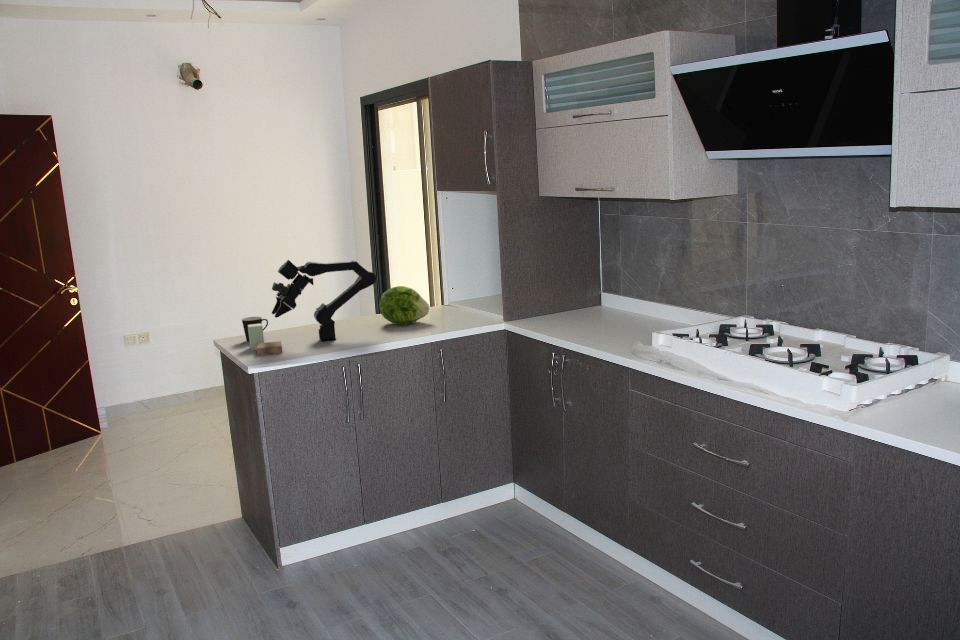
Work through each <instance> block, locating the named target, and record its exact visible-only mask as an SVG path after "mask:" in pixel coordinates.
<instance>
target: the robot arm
mask: <svg viewBox="0 0 960 640" xmlns="http://www.w3.org/2000/svg"><path fill="white" fill-rule="evenodd" d="M344 271H353V272H354V273H355V274H356V275H357V276H358V277H357V278H356V279H355V281H354V282H353V284H351V285H350V286H348V288H347V289H345V290H344V291H343V292H342V293H340V294H339V295H338V296H336V298H334V299H333V300H332V301H330V302H329V303H327V304H325V303H324V302H322V303H321V304H320V305H319V306H318V307H316V308H315V311H314V312H313V318H314V320H316V322H317V323H318V324H319V329H318V338H319V340H320V341H321V342H324V341H325V342H327V341H336V340H337V337H336V328H335V326H336V322H335V321H334V320H333V318H332V317H333V316H334V315H335V313H336V312H337V310H339V309H340V308H341V307H342V306H343V305H345V304H347V302H348V301H349V300H351V299H352V298H353V297H354V296H356V295H357V294H358V293H359V292H360V291H362V290H363V291H364V290H365V289H367V288H369V287H371V286H372V285H374V284H375V283H376V282H377V281H376V280H377V276H376V274H375V273H374V272H372V271H370V270H367V269H366V268H364V267H363V266H362V265H361V264H360V263H359V262H357V261H356V260H349V261H338V262H336V261H335V262H325V263H324V262H316V261H307V262H305V264H304V265H300V266H296V265H295V264H294V263H292V262H291V261H290V260H289V259H287V260H286V261H285V262H284V263H283V264H281V266H280V267H279V269H278V270H277V273H279V274H280V275H281V276H283V277H284V278H285V279H286V280H288V281H290V280H292V281H291V283H288V284H287V285H284V283H281V282H274V281H273V284H272V286H271V290H272V291H273V292H277V293H276V296H275V299H276V302H275V305H274V307H273V309H272V310H271V314H272V315H274V318H279V317H281V316H283V315H285V314H286V313H288V312H290V311H293V310H294V309H295V308H296V307H297V302H296V299H297V298H298V297H299V296H301V295H302V292H303V291H304V289H305V288H306V287H307V286H308V285H309V284H311V286H314V278H313V277H316V276H319V275H324V274H325V273H335V272H344ZM302 274H303V275H302ZM307 275H308V276H307ZM310 277H311V278H310Z"/></svg>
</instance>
